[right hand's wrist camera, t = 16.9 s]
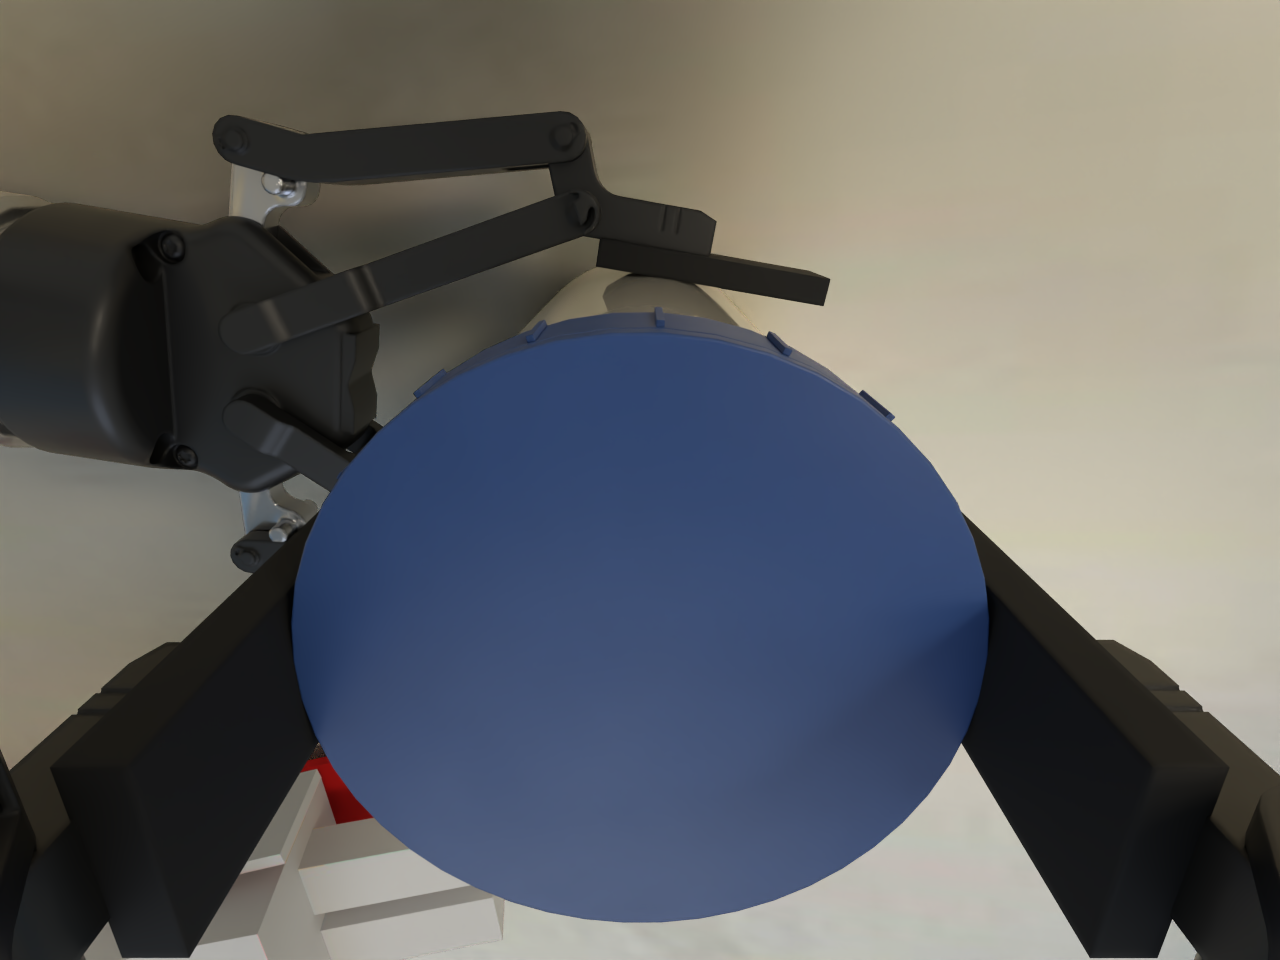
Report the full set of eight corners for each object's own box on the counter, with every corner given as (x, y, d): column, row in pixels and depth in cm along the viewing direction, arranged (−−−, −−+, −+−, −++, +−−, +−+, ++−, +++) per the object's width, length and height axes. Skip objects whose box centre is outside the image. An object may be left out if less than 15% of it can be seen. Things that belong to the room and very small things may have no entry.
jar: (627, 204, 26) (599, 199, 8) (804, 367, 28) (1077, 634, 11) (478, 390, 29) (217, 687, 11) (651, 527, 31) (665, 958, 13)
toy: (508, 1089, 29) (-296, 1265, 27) (516, 831, 42) (-31, 932, 39) (453, 874, 25) (-513, 1056, 22) (480, 658, 38) (-137, 757, 35)
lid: (601, 144, 9) (592, 131, 8) (1071, 585, 12) (1143, 648, 10) (224, 637, 12) (158, 706, 11) (667, 913, 15) (670, 1006, 13)
